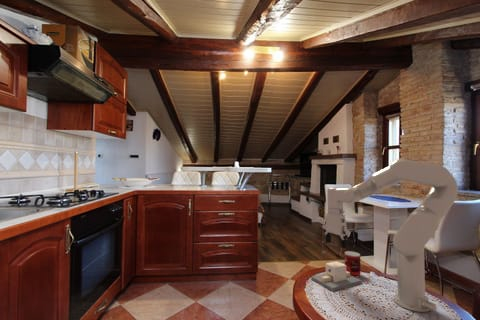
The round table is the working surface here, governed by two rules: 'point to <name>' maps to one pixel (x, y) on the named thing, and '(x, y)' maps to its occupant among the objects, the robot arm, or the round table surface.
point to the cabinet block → (336, 271)
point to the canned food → (352, 263)
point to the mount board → (333, 286)
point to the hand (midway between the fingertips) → (335, 245)
